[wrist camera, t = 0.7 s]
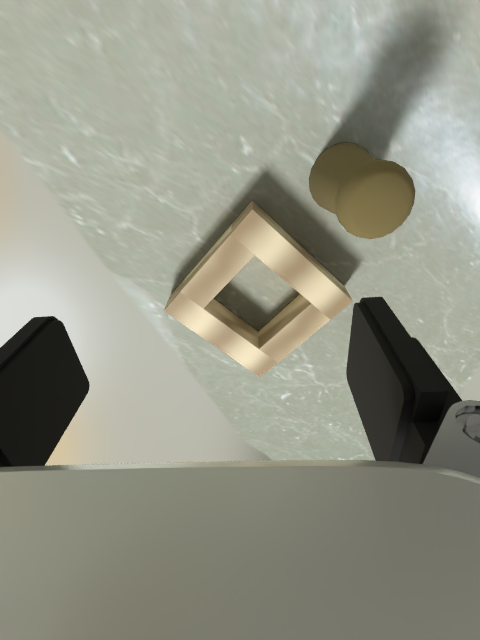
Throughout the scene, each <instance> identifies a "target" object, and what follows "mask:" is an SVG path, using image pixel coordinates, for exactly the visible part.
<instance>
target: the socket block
mask: <svg viewBox="0 0 480 640" xmlns="http://www.w3.org/2000/svg"><path fill="white" fill-rule="evenodd" d="M254 255H255V256H257V257H258V258H259V259H260V260H261V261H262V262H264V263H265V264H266V265H267V266H268V267H269V268H271V269H272V270H273V271H274V272H275V273H276V274H278V275H279V276H280V277H281V278H282V279H284V280H285V281H286V282H287V283H288V284H289V285H291V286H292V287H293V288H294V289H295V290H296V291H298V292H299V293H300V294H299V295H298V296H297V297H296V298H295V299H294V300H293V301H292V302H291V303H289V304H288V305H287V306H286V307H285V308H284V309H283V310H282V311H281V312H280V313H278V314H277V315H276V316H275V317H274V318H273V319H272V320H271V321H270V322H269V323H267V324H266V325H265V326H264V327H263V328H262V329H261V330H260V331H259V332H258V331H256V330H255V329H254V328H252V327H251V326H250V325H248V324H247V323H246V322H244V321H243V320H242V319H240V318H239V317H238V316H236V315H235V314H234V313H232V312H231V311H230V310H228V309H227V308H226V307H224V306H223V305H222V304H220V303H219V302H218V301H216V300H215V299H214V297H215V296H216V295H217V294H218V293H219V292H220V291H221V290H222V289H223V288H224V287H225V286H226V284H227V283H228V282H229V281H230V280H231V279H232V278H233V277H234V276H235V275H236V274H237V273H238V272H239V271H240V270H241V269H242V268H243V267H244V265H245V264H246V263H247V262H248V261H249V260H250V259H251V258H252V257H253V256H254ZM352 302H353V300H352V299H351V297H350V295H349V293H348V292H347V290H346V288H345V286H344V285H343V284H341V283H340V282H339V281H338V280H337V279H336V278H335V277H334V276H333V275H332V274H331V273H330V272H329V271H327V270H326V269H325V268H324V267H323V266H322V265H321V264H320V263H319V262H318V261H317V260H316V259H315V258H313V257H312V256H311V255H310V254H309V253H308V252H307V251H306V250H305V249H304V248H303V247H302V246H300V245H299V244H298V243H297V242H296V241H295V240H294V239H293V238H292V237H291V236H290V235H289V234H288V233H286V232H285V231H284V230H283V229H282V228H281V227H280V226H279V225H278V224H277V223H276V222H275V221H274V220H272V219H271V218H270V217H269V216H268V215H267V214H266V213H265V212H264V211H263V210H262V209H261V208H260V207H258V206H257V205H256V204H255V203H254V202H253V201H251V202H250V203H249V204H248V206H247V207H246V208H245V209H244V210H243V211H242V213H241V214H240V215H239V216H238V217H237V218H236V220H235V221H234V222H233V223H232V224H231V225H230V227H229V228H228V229H227V230H226V231H225V232H224V234H223V235H222V236H221V237H220V238H219V239H218V241H217V242H216V243H215V244H214V245H213V246H212V248H211V249H210V250H209V251H208V252H207V253H206V255H205V256H204V257H203V258H202V259H201V260H200V262H199V263H198V264H197V265H196V266H195V267H194V268H193V270H192V271H191V272H190V273H189V274H188V275H187V277H186V278H185V279H184V280H183V281H182V282H181V284H180V285H179V286H178V287H177V288H176V289H175V291H174V292H173V293H172V294H171V295H170V297H169V300H168V302H167V305H166V307H165V309H164V311H165V312H166V313H168V314H169V315H171V316H172V317H173V318H175V319H176V320H178V321H179V322H181V323H182V324H184V325H185V326H187V327H188V328H189V329H191V330H192V331H194V332H195V333H197V334H198V335H200V336H201V337H203V338H204V339H205V340H207V341H208V342H210V343H211V344H213V345H214V346H216V347H217V348H219V349H220V350H221V351H223V352H224V353H226V354H227V355H229V356H230V357H232V358H233V359H234V360H236V361H237V362H239V363H240V364H242V365H243V366H245V367H246V368H248V369H249V370H250V371H252V372H253V373H255V374H256V375H258V376H259V377H261V376H263V375H264V374H265V373H266V372H267V371H269V370H270V369H271V368H272V367H273V366H275V365H276V364H277V363H278V362H280V361H281V360H282V359H283V358H284V357H286V356H287V355H288V354H289V353H291V352H292V351H293V350H294V349H295V348H297V347H298V346H299V345H300V344H302V343H303V342H304V341H305V340H306V339H308V338H309V337H310V336H311V335H313V334H314V333H315V332H316V331H317V330H319V329H320V328H321V327H322V326H323V325H325V324H326V323H327V322H328V321H330V320H331V319H332V318H333V317H334V316H336V315H337V314H338V313H339V312H341V311H342V310H343V309H344V308H345V307H347V306H348V305H349V304H350V303H352Z"/></svg>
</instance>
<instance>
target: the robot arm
mask: <svg viewBox="0 0 480 640" xmlns="http://www.w3.org/2000/svg"><path fill="white" fill-rule="evenodd" d="M347 381H348V384H349V387H350V389H351V392H352V395H353V398H354V401H355V403H356V406H357V409H358V412H359V415H360V418H361V420H362V423H363V426H364V429H365V432H366V434H367V437H368V440H369V443H370V446H371V449H372V451H373V454H374V457H375V460H376V461H369V460H283V461H231V462H230V461H228V462H180V463H179V462H178V463H177V462H176V463H134V464H133V463H132V464H91V465H57V466H56V465H55V466H45V464H46V462H47V460H48V459H49V457H50V455H51V454H52V452H53V450H54V449H55V447H56V445H57V444H58V442H59V440H60V438H61V437H62V435H63V434H64V431H65V430H66V429H67V427H68V425H69V424H70V422H71V420H72V418H73V417H74V415H75V413H76V412H77V410H78V408H79V407H80V405H81V403H82V402H83V400H84V398H85V397H86V395H87V393H88V391H89V381H88V379H87V376H86V374H85V372H84V370H83V368H82V365H81V363H80V361H79V358H78V356H77V354H76V352H75V349H74V347H73V345H72V343H71V340H70V338H69V336H68V334H67V331H66V329H65V327H64V325H63V323H62V322H61V321H59V320H58V319H57V318H55V317H53V316H50V317H49V316H48V317H34V318H33V319H31V320H30V321H29V322H28V323H27V324H26V325H25V326H24V327H23V328H21V329H20V330H19V331H18V332H17V333H16V334H15V335H14V336H13V337H12V338H11V339H9V340H8V341H7V342H6V343H5V344H4V345H3V346H2V347H1V348H0V640H480V401H473V400H467V401H462V400H461V398H460V397H459V395H458V394H457V393H456V391H455V390H454V389H453V387H452V386H451V385H450V383H449V382H448V380H447V379H446V378H445V376H444V375H443V374H442V372H441V371H440V369H439V368H438V367H437V365H436V364H435V363H434V361H433V360H432V359H431V357H430V356H429V354H428V353H427V352H426V350H425V349H424V348H423V346H422V345H421V344H420V342H419V341H418V340H417V339H416V338H413V337H412V338H411V337H410V335H409V334H408V332H407V331H406V330H405V328H404V327H403V325H402V324H401V323H400V321H399V320H398V318H397V317H396V316H395V314H394V313H393V311H392V310H391V309H390V307H389V306H388V304H387V303H386V301H385V300H384V299H383V298H382V297H369V298H362V299H361V300H360V303H355V304H354V308H353V317H352V326H351V335H350V344H349V353H348V362H347Z"/></svg>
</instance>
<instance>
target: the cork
mask: <svg viewBox="0 0 480 640" xmlns="http://www.w3.org/2000/svg"><path fill="white" fill-rule="evenodd" d="M309 188H310V192H311V194H312V197H313V199H314V200H315V201H316V203H317V204H318V205H319V206H321V207H322V208H324V209H326V210H328V211H330V212H332V213H335V214H336V215H337V217H338V220H339V222H340V223H341V225H342V226H343V227H344V228H345V229H346V230H347V232H349V233H351V234H353V235H355V236H356V237H361V238H367V239H373V238H379V237H383V236H385V235H387V234H389V233H392V232H393V231H394V230H395V229H397V228H398V227H399V226H400V225H402V223H403V222H404V221H405V219H406V218H407V217H408V216H409V214H410V212H411V209H412V207H413V204H414V198H415V188H414V184H413V180H412V178H411V177H410V175H409V174H408V172H407V171H406V169H405V168H403V167H402V166H400V165H399V164H397V163H395V162H392V161H387V160H381V159H379V160H375V159H374V158H373V157H372V156H371V155H370V154H369V153H368V152H367V151H366V150H365V149H364V148H362V147H361V146H359V145H357V144H353V143H348V142H345V143H340V144H335V145H334V146H332V147H330V148H328V149H326V150H325V151H324V152H323V153H322V154H321V155H320V156H319V157H318V158H317V160H316V161H315V163H314V165H313V167H312V169H311V173H310V177H309Z"/></svg>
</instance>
